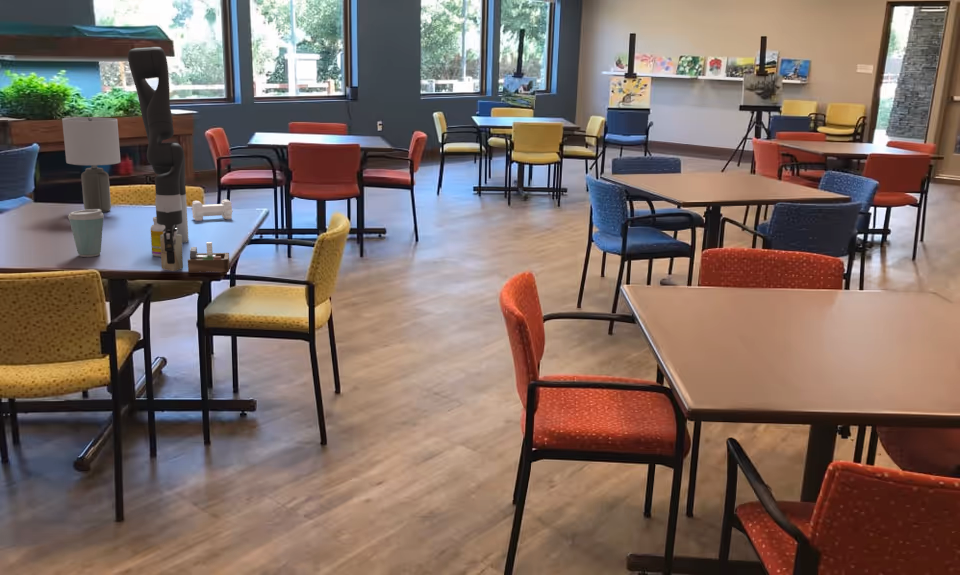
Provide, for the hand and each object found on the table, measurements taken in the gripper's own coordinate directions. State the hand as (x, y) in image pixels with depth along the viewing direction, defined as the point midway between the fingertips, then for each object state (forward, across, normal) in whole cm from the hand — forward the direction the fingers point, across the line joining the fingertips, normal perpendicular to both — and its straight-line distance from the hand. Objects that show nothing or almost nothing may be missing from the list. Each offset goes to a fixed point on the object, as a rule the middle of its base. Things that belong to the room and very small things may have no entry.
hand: (172, 260), depth 251 cm
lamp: (+3, -102, -39) cm, 109 cm away
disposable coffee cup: (+3, -22, -28) cm, 36 cm away
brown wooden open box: (+3, 0, +11) cm, 11 cm away
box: (+3, 0, 0) cm, 3 cm away
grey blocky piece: (+2, 0, +9) cm, 10 cm away
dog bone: (+3, -82, +8) cm, 83 cm away
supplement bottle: (+3, -20, -5) cm, 21 cm away
